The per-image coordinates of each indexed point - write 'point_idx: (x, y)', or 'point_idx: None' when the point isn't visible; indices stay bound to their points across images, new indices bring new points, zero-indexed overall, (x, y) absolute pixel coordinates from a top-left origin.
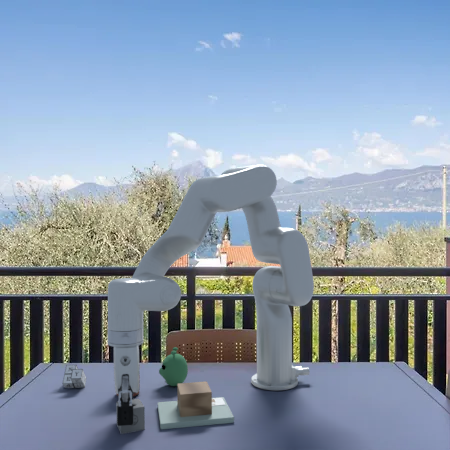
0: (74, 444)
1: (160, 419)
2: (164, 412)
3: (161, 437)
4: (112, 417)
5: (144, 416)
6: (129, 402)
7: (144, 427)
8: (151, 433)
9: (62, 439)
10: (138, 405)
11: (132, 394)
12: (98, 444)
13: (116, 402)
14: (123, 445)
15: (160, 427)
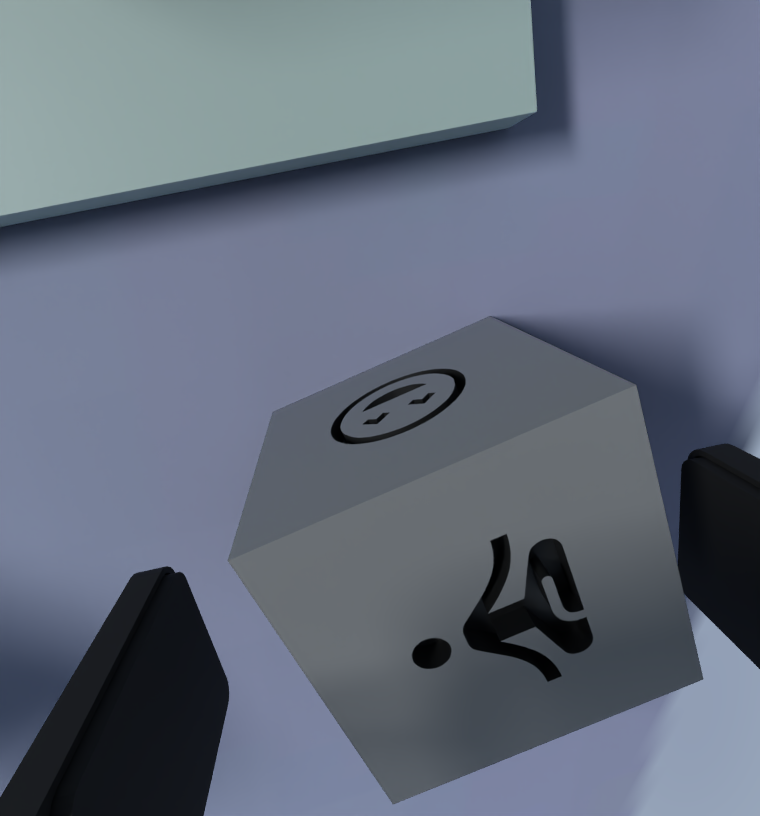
0: (649, 727)
1: (404, 130)
2: (153, 90)
3: (698, 95)
4: (220, 648)
5: (549, 345)
6: (414, 655)
7: (498, 321)
8: (585, 227)
9: (569, 800)
10: (562, 498)
11: (114, 713)
12: (687, 604)
13: (395, 797)
14: (753, 437)
15: (472, 134)
